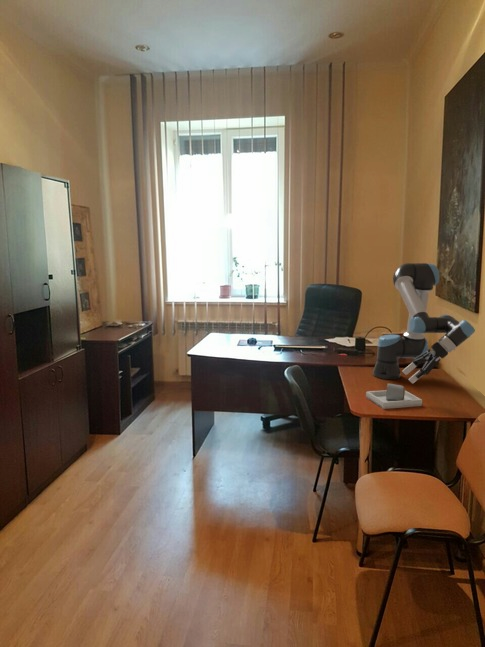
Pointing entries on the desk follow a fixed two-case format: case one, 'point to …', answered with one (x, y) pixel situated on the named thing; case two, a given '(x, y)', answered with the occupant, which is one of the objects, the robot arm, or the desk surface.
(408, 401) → the tray
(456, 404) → the desk surface
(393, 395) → the ceramic mug
